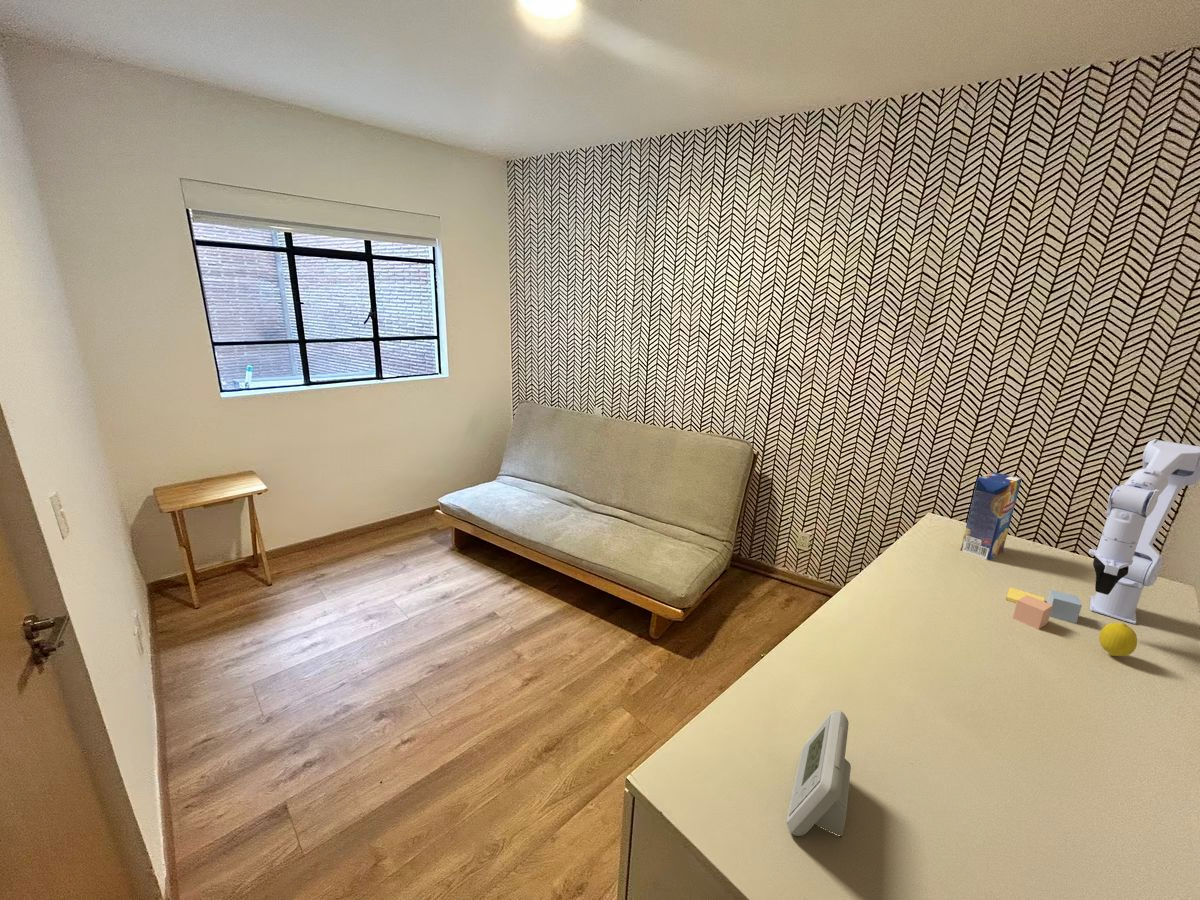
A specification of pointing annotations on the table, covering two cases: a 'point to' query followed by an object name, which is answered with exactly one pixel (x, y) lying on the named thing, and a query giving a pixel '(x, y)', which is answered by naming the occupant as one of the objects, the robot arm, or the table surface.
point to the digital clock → (822, 779)
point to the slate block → (1064, 606)
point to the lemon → (1118, 639)
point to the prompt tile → (1020, 595)
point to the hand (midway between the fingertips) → (1101, 592)
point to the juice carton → (990, 515)
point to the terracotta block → (1032, 612)
